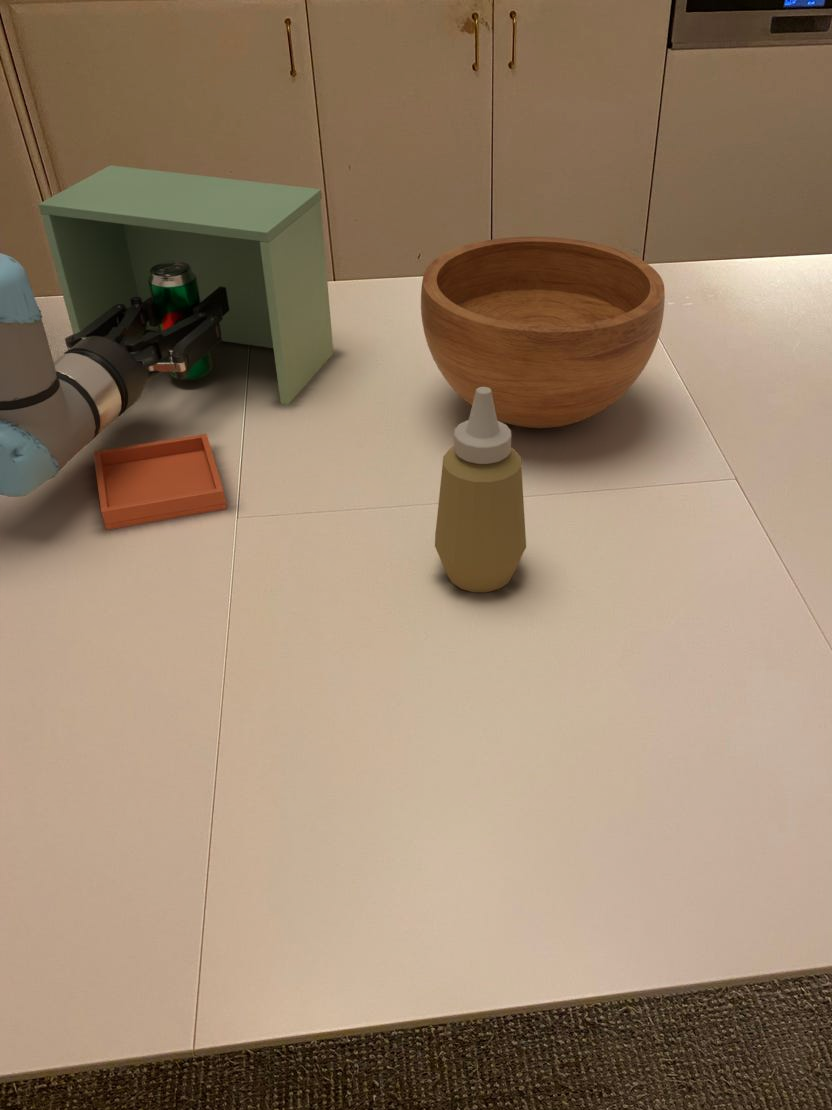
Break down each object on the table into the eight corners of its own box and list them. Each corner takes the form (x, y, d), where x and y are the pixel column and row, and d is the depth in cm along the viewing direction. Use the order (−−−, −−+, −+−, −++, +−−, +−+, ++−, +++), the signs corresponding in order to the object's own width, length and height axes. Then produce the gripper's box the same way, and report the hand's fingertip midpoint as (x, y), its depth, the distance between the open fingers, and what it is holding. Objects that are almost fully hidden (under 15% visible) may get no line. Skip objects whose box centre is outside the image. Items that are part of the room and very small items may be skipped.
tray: (98, 469, 100) (93, 451, 99) (209, 451, 103) (206, 433, 102) (106, 530, 92) (101, 511, 91) (226, 508, 95) (223, 490, 94)
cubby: (288, 405, 111) (267, 232, 98) (83, 372, 115) (37, 204, 103) (335, 351, 121) (321, 188, 108) (144, 323, 126) (110, 165, 113)
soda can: (221, 372, 114) (203, 269, 106) (183, 386, 111) (162, 281, 103) (197, 358, 116) (178, 256, 108) (159, 371, 114) (137, 268, 106)
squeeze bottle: (541, 567, 89) (554, 384, 77) (493, 614, 84) (499, 427, 72) (467, 537, 92) (469, 357, 80) (416, 581, 87) (410, 396, 75)
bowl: (566, 501, 97) (579, 358, 87) (376, 421, 108) (368, 286, 98) (688, 405, 112) (710, 273, 102) (510, 343, 123) (515, 219, 113)
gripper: (19, 408, 100) (137, 316, 117) (180, 435, 97) (278, 336, 114) (-4, 338, 95) (123, 253, 112) (165, 364, 92) (270, 272, 109)
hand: (201, 295), depth 113 cm, fingers closed on soda can, 5 cm apart
